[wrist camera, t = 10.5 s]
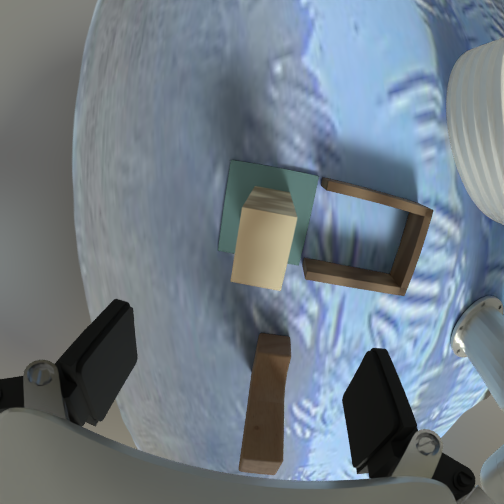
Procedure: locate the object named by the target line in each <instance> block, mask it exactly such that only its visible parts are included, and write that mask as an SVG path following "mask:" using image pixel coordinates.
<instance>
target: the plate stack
mask: <svg viewBox="0 0 504 504" xmlns="http://www.w3.org/2000/svg"><path fill="white" fill-rule="evenodd" d="M446 114H447V126H448V133H449V139H450V144H451V149H452V153H453V157H454V160H455V163H456V166H457V169H458V172H459V175H460V177H461V180H462V182H463V184H464V186H465V188H466V190H467V192H468V194H469V196H470V197H471V199H472V200H473V202H474V203H475V204H476V206H477V207H478V208H479V209H480V210H481V211H482V212H483V213H484V214H485V215H486V216H487V217H489V218H490V219H492V220H494V221H496V222H498V223H500V224H502V225H504V38H501V39H499V40H495V41H492V42H489V43H487V44H484V45H481V46H479V47H476V48H473V49H471V50H468V51H466V52H465V53H464V54H462V55H461V56H460V57H459V59H458V60H457V61H456V63H455V65H454V67H453V69H452V71H451V74H450V78H449V82H448V88H447V98H446Z"/></svg>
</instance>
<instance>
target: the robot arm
mask: <svg viewBox="0 0 504 504" xmlns="http://www.w3.org/2000/svg"><path fill="white" fill-rule="evenodd" d="M451 348H452V350H453V352H454V353H455V354H456V355H457V356H459V357H468V358H469V360H470V361H471V363H472V364H473V366H474V367H475V369H476V370H477V372H478V373H479V375H480V376H481V378H482V379H483V381H484V383H485V384H486V386H487V387H488V389H489V391H490V392H491V394H492V396H493V397H494V399H495V401H496V402H497V404H498V406H499V407H500V409H501V411H502V412H503V413H504V316H503V304H502V302H501V301H500V300H499V299H498V298H497V297H495V296H485V297H483V298H481V299H479V300H477V301H476V302H474V303H473V304H472V305H471V306H470V307H469V308H468V309H467V310H466V311H465V312H464V313H463V315H462V316H461V317H460V319H459V320H458V322H457V324H456V326H455V328H454V330H453V333H452V337H451ZM136 362H137V347H136V338H135V327H134V314H133V308H132V307H130V304H129V303H128V302H125V301H122V300H118V299H114V300H113V301H112V302H111V303H110V304H109V305H108V306H107V307H106V309H105V310H104V311H103V312H102V313H101V314H100V315H99V316H98V317H97V318H96V319H95V320H94V321H93V322H92V323H91V324H90V325H89V326H88V327H87V328H86V329H85V330H84V331H83V333H82V334H81V335H80V336H79V337H78V338H77V339H76V340H75V341H74V342H73V344H72V345H71V346H70V347H69V348H68V349H67V350H66V352H65V353H64V354H63V355H62V356H61V357H60V358H59V359H58V361H57V362H56V363H55V364H54V363H52V362H50V361H47V360H37V361H34V362H32V363H30V364H29V365H28V366H27V367H26V369H25V370H24V375H23V376H19V377H13V378H7V379H0V504H504V444H503V445H502V446H501V447H500V448H499V449H498V450H497V451H495V452H494V453H493V454H492V455H491V456H490V457H489V458H488V459H487V460H486V461H485V463H484V464H483V466H482V468H481V472H480V480H481V485H482V489H483V490H482V489H481V488H480V487H479V485H477V486H476V487H475V486H474V485H475V476H474V474H473V472H472V471H471V470H470V469H469V468H468V467H466V466H464V465H463V464H461V463H459V462H457V461H455V460H454V459H452V458H451V457H449V456H447V455H445V454H444V453H442V450H443V443H442V440H441V438H440V437H439V436H438V434H436V433H435V432H433V431H431V430H427V429H423V430H419V431H418V429H417V423H416V421H415V418H414V415H413V412H412V410H411V407H410V404H409V402H408V399H407V397H406V394H405V392H404V389H403V387H402V384H401V382H400V379H399V377H398V374H397V372H396V370H395V367H394V365H393V363H392V360H391V358H390V356H389V353H388V351H387V350H386V349H381V348H372V349H371V350H370V351H368V352H367V353H366V354H365V356H364V358H363V360H362V362H361V364H360V366H359V368H358V370H357V371H356V373H355V375H354V377H353V379H352V381H351V382H350V384H349V386H348V388H347V389H346V391H345V393H344V395H343V399H342V402H343V408H344V414H345V419H346V425H347V431H348V438H349V444H350V451H351V458H352V464H353V467H354V468H356V470H357V474H363V473H369V479H359V480H339V481H298V480H280V479H268V478H258V477H250V476H243V475H236V474H230V473H224V472H219V471H213V470H208V469H204V468H199V467H195V466H191V465H187V464H183V463H179V462H175V461H172V460H168V459H165V458H161V457H158V456H155V455H152V454H149V453H146V452H143V451H140V450H137V449H134V448H132V447H129V446H126V445H124V444H121V443H118V442H116V441H113V440H111V439H108V438H106V437H104V436H101V435H99V434H97V433H94V432H92V431H90V430H88V429H86V428H83V427H82V426H83V425H84V424H85V422H87V423H89V424H91V425H93V426H96V424H97V423H98V421H102V420H103V419H104V418H105V416H106V414H107V412H108V410H109V409H110V407H111V405H112V403H113V402H114V400H115V398H116V397H117V395H118V393H119V391H120V390H121V388H122V386H123V385H124V383H125V381H126V379H127V378H128V376H129V374H130V373H131V371H132V369H133V368H134V366H135V364H136Z"/></svg>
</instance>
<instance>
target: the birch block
mask: <svg viewBox="0 0 504 504" xmlns="http://www.w3.org/2000/svg"><path fill="white" fill-rule="evenodd" d="M296 222H297V214H296V211H295V207H294V204H293V201H292V198H291V194H290V192H285V191H280V190H274V189H269V188H264V187H258V186H255V187H254V188H253V190H252V192H251V193H250V195H249V197H248V198H247V200H246V202H245V203H244V205H243V207H242V212H241V218H240V224H239V230H238V237H237V243H236V250H235V256H234V262H233V269H232V276H231V282H236V283H241V284H246V285H251V286H257V287H262V288H268V289H273V290H279V291H281V287H282V283H283V279H284V275H285V271H286V266H287V262H288V258H289V253H290V249H291V245H292V240H293V236H294V231H295V227H296Z"/></svg>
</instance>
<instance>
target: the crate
mask: <svg viewBox="0 0 504 504" xmlns="http://www.w3.org/2000/svg"><path fill="white" fill-rule="evenodd" d="M321 186H322V187H323V188H325V189H326V190H327V191H332V192H336V193H340V194H344V195H349V196H353V197H357V198H361V199H365V200H368V201H372V202H376V203H380V204H383V205H387V206H391V207H394V208H398V209H401V210H405V211H408V212H409V214H408V218H407V222H406V225H405V229H404V232H403V235H402V239H401V242H400V245H399V248H398V251H397V254H396V257H395V260H394V263H393V266H392V269H391V272H390V274H388V273H383V272H377V271H372V270H367V269H362V268H356V267H351V266H346V265H341V264H335V263H330V262H325V261H320V260H314V259H309V258H304V260H303V264H302V266H303V271H304V276H305V279H306V280H312V281H318V282H323V283H329V284H335V285H341V286H346V287H352V288H358V289H364V290H370V291H376V292H382V293H388V294H395V295H401V296H404V295H405V293H406V290H407V288H408V285H409V283H410V280H411V278H412V275H413V272H414V270H415V267H416V264H417V261H418V259H419V256H420V253H421V250H422V247H423V244H424V241H425V237H426V234H427V231H428V228H429V224H430V221H431V217H432V214H433V210H432V209H430V208H428V207H426V206H423V205H421V204H419V203H416V202H413V201H410V200H407V199H404V198H400V197H397V196H394V195H390V194H387V193H383V192H380V191H376V190H372V189H369V188H365V187H361V186H357V185H354V184H350V183H346V182H342V181H338V180H333V179H329V178H325V177H323V178H322V182H321Z"/></svg>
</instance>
